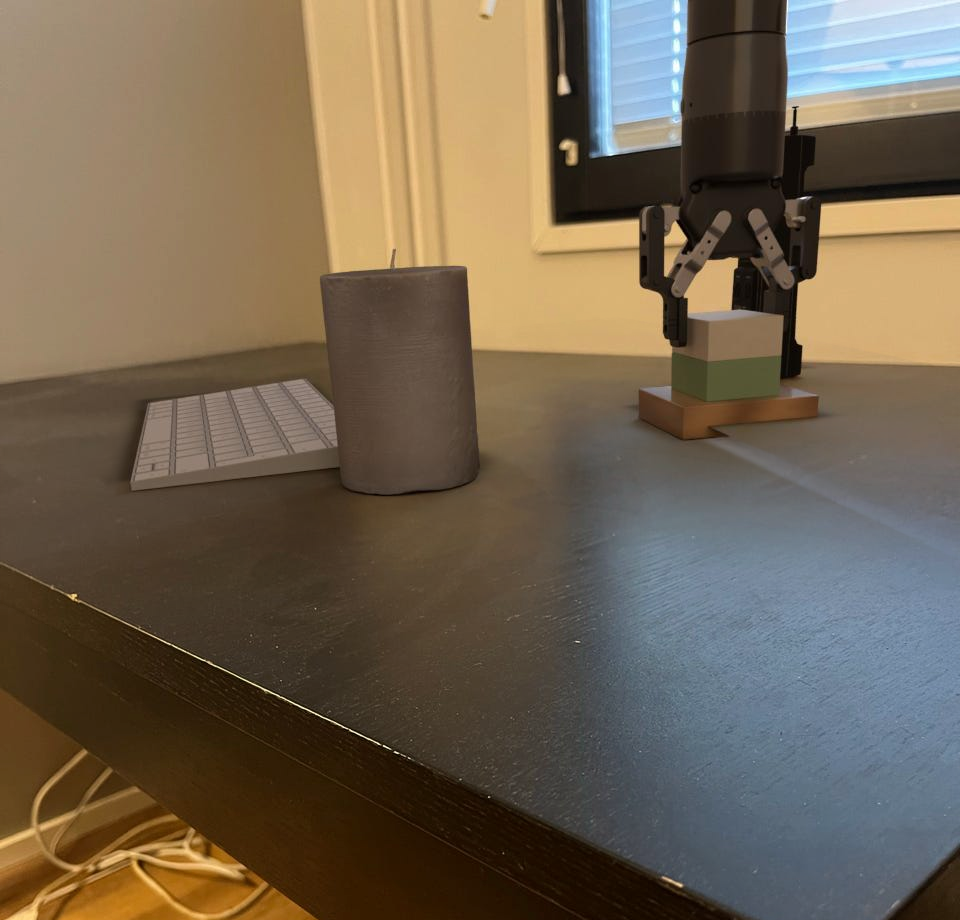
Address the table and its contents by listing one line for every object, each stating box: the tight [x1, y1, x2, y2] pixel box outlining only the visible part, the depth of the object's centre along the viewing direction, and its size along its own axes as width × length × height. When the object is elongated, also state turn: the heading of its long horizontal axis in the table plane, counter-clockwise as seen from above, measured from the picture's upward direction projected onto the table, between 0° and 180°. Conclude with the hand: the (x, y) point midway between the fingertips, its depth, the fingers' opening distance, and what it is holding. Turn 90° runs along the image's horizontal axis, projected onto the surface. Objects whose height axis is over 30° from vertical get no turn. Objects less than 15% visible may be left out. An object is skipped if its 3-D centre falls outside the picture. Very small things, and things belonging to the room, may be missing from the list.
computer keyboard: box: [129, 378, 340, 492], centre depth 91 cm, size 43×19×2 cm, turn 14°
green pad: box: [670, 351, 781, 402], centre depth 80 cm, size 6×8×3 cm
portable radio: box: [730, 105, 817, 379], centre depth 100 cm, size 8×6×25 cm
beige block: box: [671, 309, 784, 362], centre depth 79 cm, size 6×8×3 cm
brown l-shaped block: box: [638, 384, 820, 441], centre depth 81 cm, size 11×11×2 cm
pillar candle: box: [319, 248, 481, 496], centre depth 66 cm, size 10×10×15 cm
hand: (725, 342), depth 79 cm, fingers open, 7 cm apart
